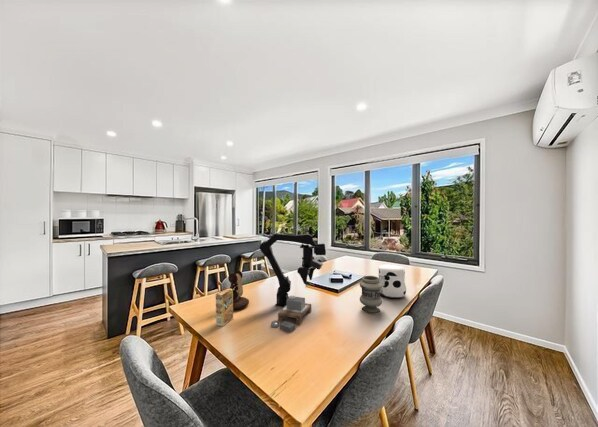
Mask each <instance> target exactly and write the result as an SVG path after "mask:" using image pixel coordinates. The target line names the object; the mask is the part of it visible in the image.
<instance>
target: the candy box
mask: <svg viewBox="0 0 598 427" xmlns="http://www.w3.org/2000/svg"><path fill="white" fill-rule="evenodd" d="M233 290H234V289H230V288H225V289H223V290H221V291H219V292H217V293H215V322H216V323H215V326H219V327H224V326H226V325H227V324H228V323H229V322H231V321H232V320H233V319H234V309H233Z"/></svg>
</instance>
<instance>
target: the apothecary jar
mask: <svg viewBox="0 0 598 427" xmlns="http://www.w3.org/2000/svg"><path fill="white" fill-rule="evenodd" d="M359 287H360V288H361V295H360V296H359V302H360V303H361V304H362V305H363V306H362V307H361V311H362V312H363V313H367V314H369V315H370V314H371V315H377V314H378V315H379V314H380V313H381V309H380V308H379V307H380V306H381V305H383V302H384V300H383V298H382V297H381V294H380V289H381V288H382V284H381V282H379V276H374V275H364V276H362V280H361V281H360V282H359Z"/></svg>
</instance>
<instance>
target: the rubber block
mask: <svg viewBox="0 0 598 427" xmlns="http://www.w3.org/2000/svg"><path fill="white" fill-rule="evenodd" d="M279 329H280V330H282V331H284V332H287V333H289V334H290V333H292V332H293V331H295V330H296V324H295V323H293V322H290V321H287V320H283V321H282V322H280V323H279Z"/></svg>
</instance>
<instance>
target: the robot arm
mask: <svg viewBox="0 0 598 427" xmlns="http://www.w3.org/2000/svg"><path fill="white" fill-rule="evenodd" d="M277 241H280V242H281V241H283V242H296V243H300V245H299V249H302V257H301V260H302V264H301V266H300V267H298V268H297V271H296V272H297V274H298V275H299V276H300V278H301V281H302V282H303V284H304V285H307V283H308V282H307V281H308V278H309V281H311V280H313V276H314V272H315V270H321V269H322V267H323V265H324V264H323V263H324V262H323V260H322V259H321V258H318V259H315V256H326V252H327V250H326V245H325V243H316V242H315V241H314V238H313V236H312V235H311V234H310V233H302V234H301V233H300V234H287V233H277V232H276V233H274V234H273V235H272V236H271V237H269V238H268V239H267V240H264V241H263V242H261V243H260V245H259V250H260V251H261V253H262V254H263V255H264V256H265V257H266V258H267V261H268V262H269V265H270V266H271V268H272V270H273V272H274V274H275V276H276V279H277V280H278V284H279V287H278V288H277V290H276V294H275V295H276V303H275V306H277V307H282V308H284V307H285V306H286V300H287V299H288V298H289V296H290V295H289V293H290V291H291V287H292V286H291V284H292V281H291V280H290V278H289V276H288V275H287V276H286V275H284V273H283V270H282V269H281V266H280V265H279V262H278V260H277V258H276V256H275V254H274V252H273V248H272V246H273V245H274V244H275V243H276V242H277ZM314 255H315V256H314Z"/></svg>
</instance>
